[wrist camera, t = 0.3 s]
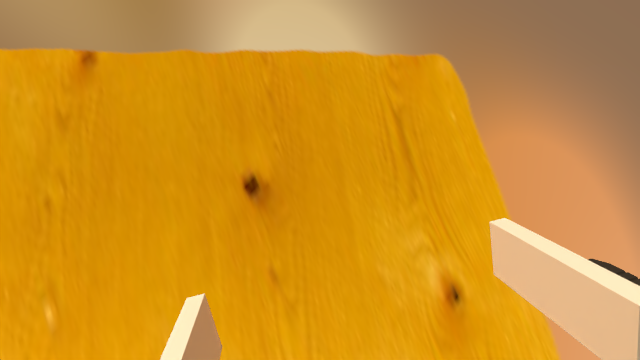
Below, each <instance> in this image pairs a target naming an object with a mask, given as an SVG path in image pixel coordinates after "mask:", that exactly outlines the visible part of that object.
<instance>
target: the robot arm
mask: <svg viewBox="0 0 640 360" xmlns="http://www.w3.org/2000/svg"><path fill="white" fill-rule="evenodd" d="M490 232H491V244H492V257H493V269H494V275H495V276H496V277H498V278H499V279H500V280H502V281H503V282H504V283H505V284H507V285H508V286H509V287H510V288H512V289H513V290H514V291H515V292H517V293H518V294H519V295H521V296H522V297H523V298H524V299H526V300H527V301H528V302H529V303H531V304H532V305H533V306H534V307H536V308H537V309H538V310H540V311H541V312H542V313H543V314H545V315H546V316H547V317H548V318H550V319H551V320H552V321H554V322H555V323H556V324H557V325H559V326H560V327H561V328H563V329H564V330H565V331H566V332H567V333H569V334H570V335H571V336H573V337H574V338H575V339H576V340H578V341H579V342H580V343H581V344H583V345H584V346H585V347H586V348H588V349H589V350H590V351H592V352H593V353H594V354H595V355H597V356H598V357H599V358H600V359H602V360H640V279H638V278H637V277H636V276H634V275H632V274H630V273H626V272H625V271H624V270H622V269H620V268H617V267H616V266H613V265H611V264H609V263H605V262H602V261H598V260H595V259H589V260H587V259H585V258H583V257H581V256H579V255H577V254H575V253H573V252H571V251H569V250H567V249H565V248H563V247H561V246H559V245H558V244H555V243H554V242H552V241H550V240H548V239H546V238H544V237H541V236H539V235H538V234H536V233H534V232H532V231H530V230H528V229H526V228H524V227H522V226H520V225H518V224H516V223H514V222H512V221H510V220H508V219H506V218H503V219H499V220H495V221H491V222H490ZM221 350H222V345H221V342H220V339H219V336H218V333H217V330H216V327H215V324H214V320H213V317H212V314H211V311H210V308H209V305H208V302H207V299H206V296H205V294H201V295H197V296H193V297H189V298H187V299H186V301H185V303H184V306H183V308H182V310H181V313H180V315H179V317H178V319H177V322H176V324H175V326H174V329H173V331H172V333H171V335H170V338H169V340H168V342H167V345H166V347H165V349H164V351H163V354H162V356H161V358H160V360H219V359H220V354H221Z"/></svg>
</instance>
